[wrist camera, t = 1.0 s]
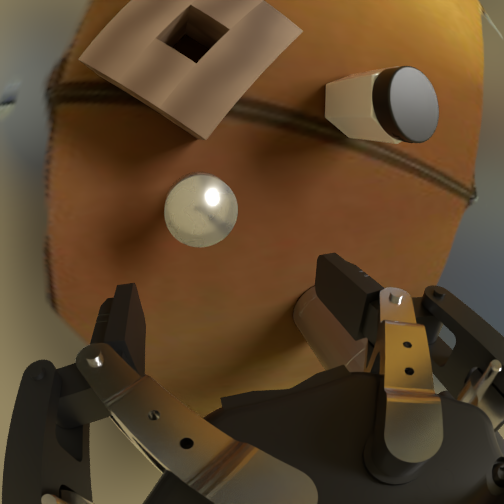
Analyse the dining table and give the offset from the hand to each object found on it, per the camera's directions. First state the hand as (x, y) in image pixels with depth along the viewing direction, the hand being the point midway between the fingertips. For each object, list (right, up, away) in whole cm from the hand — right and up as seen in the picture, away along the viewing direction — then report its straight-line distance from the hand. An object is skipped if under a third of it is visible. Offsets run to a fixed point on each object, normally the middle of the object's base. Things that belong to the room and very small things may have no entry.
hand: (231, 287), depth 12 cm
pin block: (-6, +23, +12) cm, 26 cm away
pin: (-6, +8, +19) cm, 21 cm away
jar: (+14, +21, +19) cm, 31 cm away
